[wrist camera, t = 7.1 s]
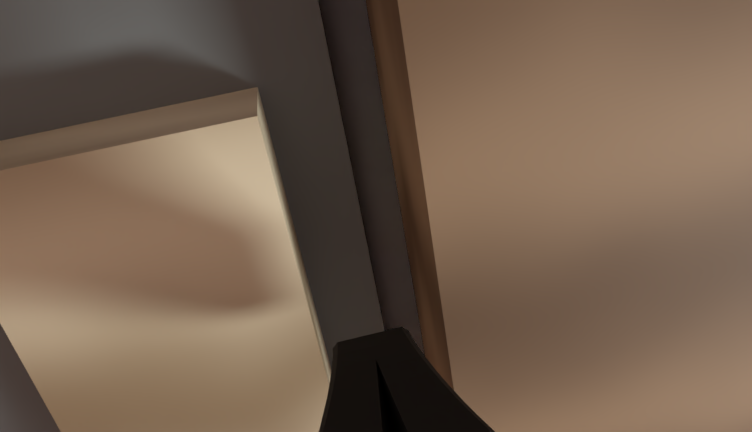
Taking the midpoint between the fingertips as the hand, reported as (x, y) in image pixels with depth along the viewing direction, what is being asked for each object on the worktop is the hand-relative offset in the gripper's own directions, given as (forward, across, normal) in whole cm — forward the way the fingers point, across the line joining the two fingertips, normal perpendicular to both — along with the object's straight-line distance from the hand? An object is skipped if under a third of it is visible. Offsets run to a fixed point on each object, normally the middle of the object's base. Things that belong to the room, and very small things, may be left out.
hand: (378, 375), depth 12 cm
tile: (+2, +4, 0) cm, 5 cm away
